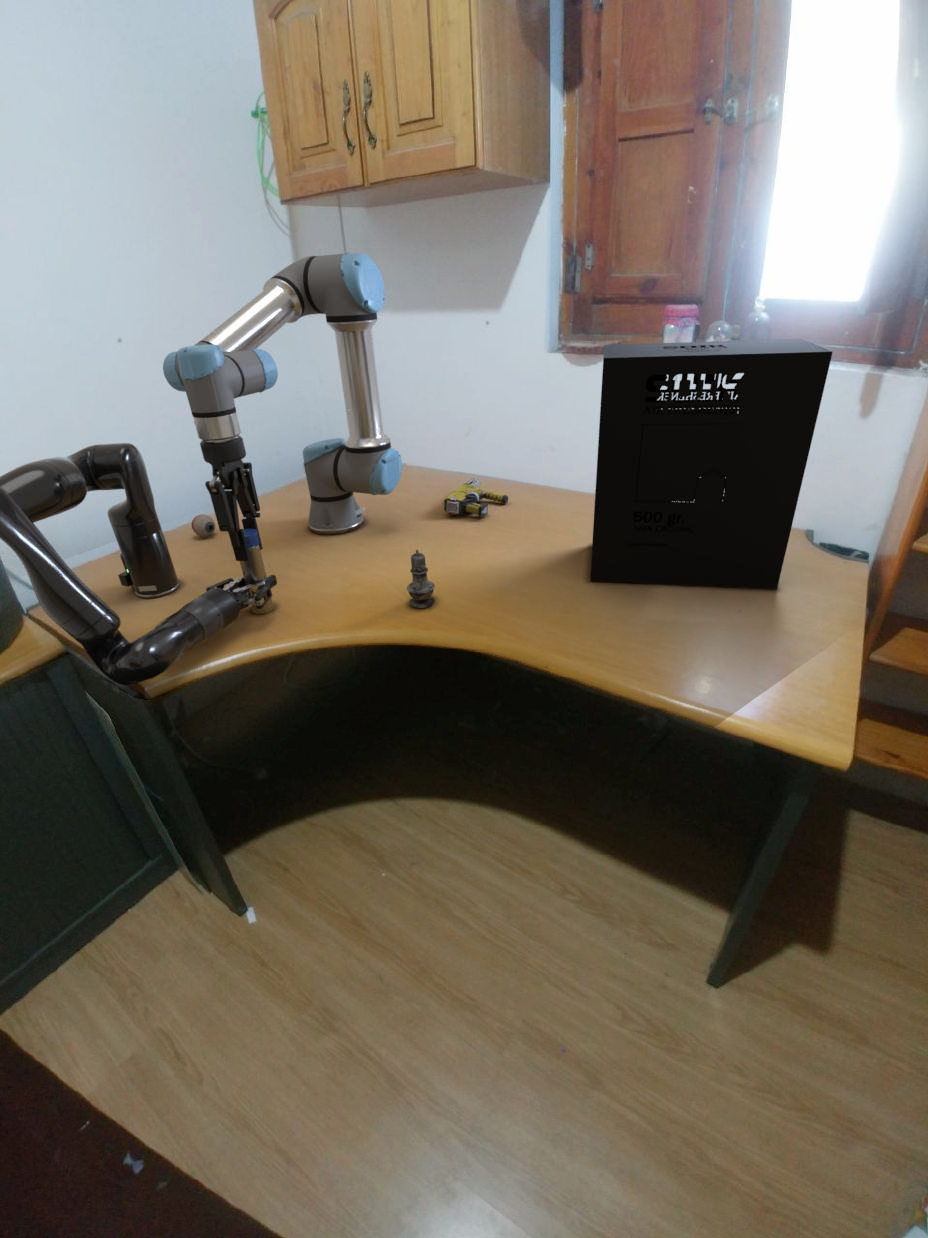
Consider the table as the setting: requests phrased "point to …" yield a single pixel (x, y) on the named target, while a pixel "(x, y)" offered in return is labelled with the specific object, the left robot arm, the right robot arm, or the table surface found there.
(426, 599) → the grey chess piece
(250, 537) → the lid
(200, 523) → the eyeball
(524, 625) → the table surface
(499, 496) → the toy gun
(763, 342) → the cardboard box
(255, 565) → the bottle
